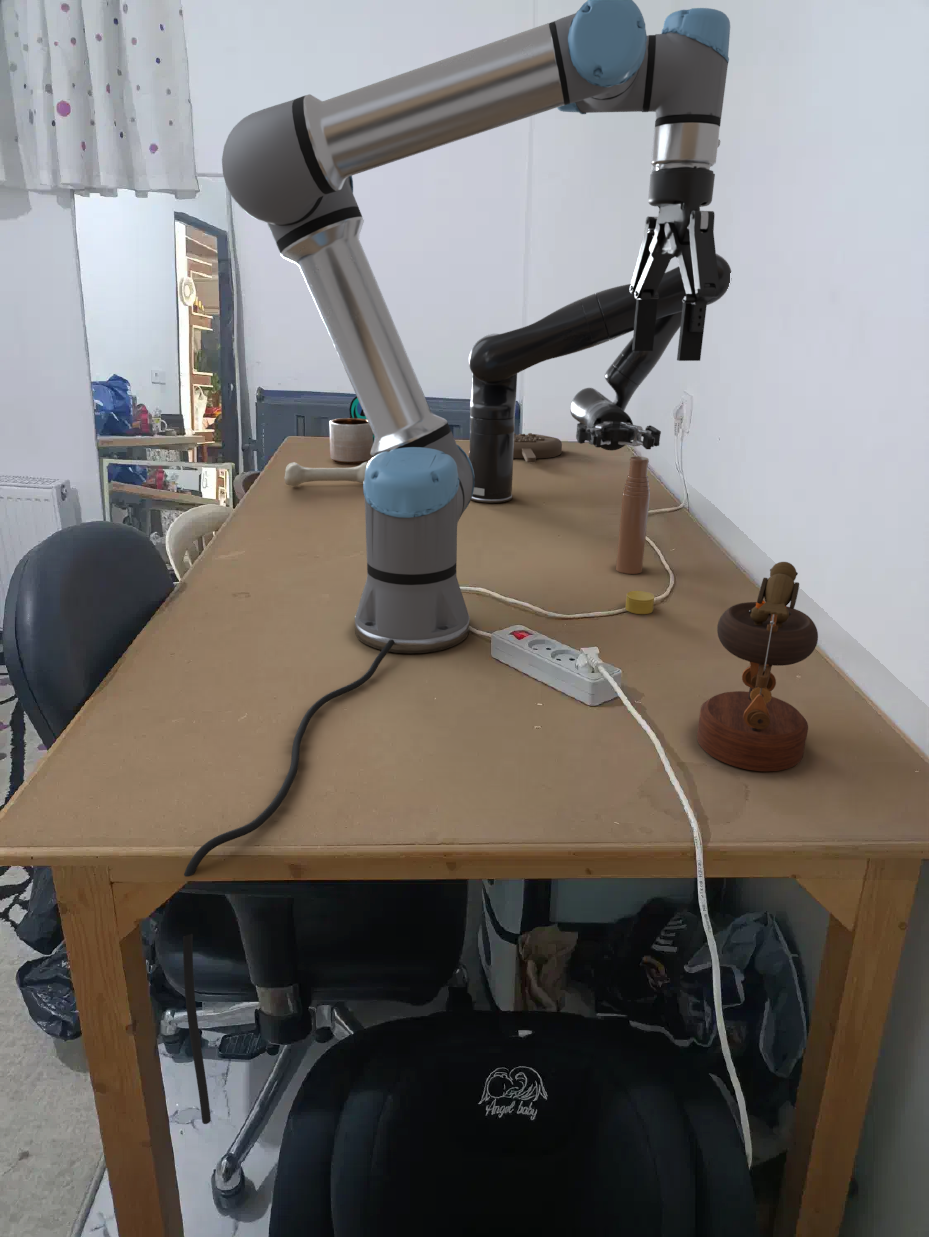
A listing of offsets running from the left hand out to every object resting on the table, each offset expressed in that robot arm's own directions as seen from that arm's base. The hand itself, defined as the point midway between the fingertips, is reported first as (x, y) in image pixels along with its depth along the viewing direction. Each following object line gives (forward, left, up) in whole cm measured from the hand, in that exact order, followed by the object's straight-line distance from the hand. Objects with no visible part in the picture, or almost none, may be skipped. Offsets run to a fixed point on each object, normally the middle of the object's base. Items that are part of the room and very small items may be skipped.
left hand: (664, 355), depth 109 cm
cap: (0, 0, -33) cm, 33 cm away
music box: (-36, -8, -35) cm, 51 cm away
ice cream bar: (+106, +20, -35) cm, 113 cm away
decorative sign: (+115, +64, -35) cm, 136 cm away
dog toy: (+67, +62, -35) cm, 98 cm away
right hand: (+29, +2, -17) cm, 34 cm away
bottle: (+18, 0, -35) cm, 39 cm away
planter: (+94, +64, -35) cm, 119 cm away
